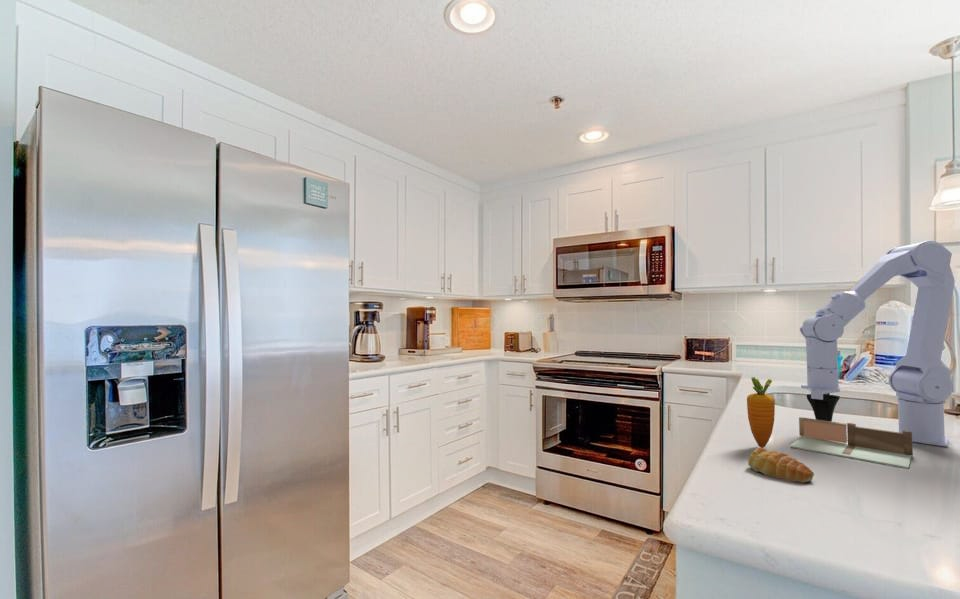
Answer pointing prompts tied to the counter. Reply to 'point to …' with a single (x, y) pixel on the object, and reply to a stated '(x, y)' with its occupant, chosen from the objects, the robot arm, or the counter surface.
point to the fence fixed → (880, 439)
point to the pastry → (779, 466)
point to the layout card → (852, 451)
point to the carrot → (761, 412)
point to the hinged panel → (823, 429)
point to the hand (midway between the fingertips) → (823, 426)
